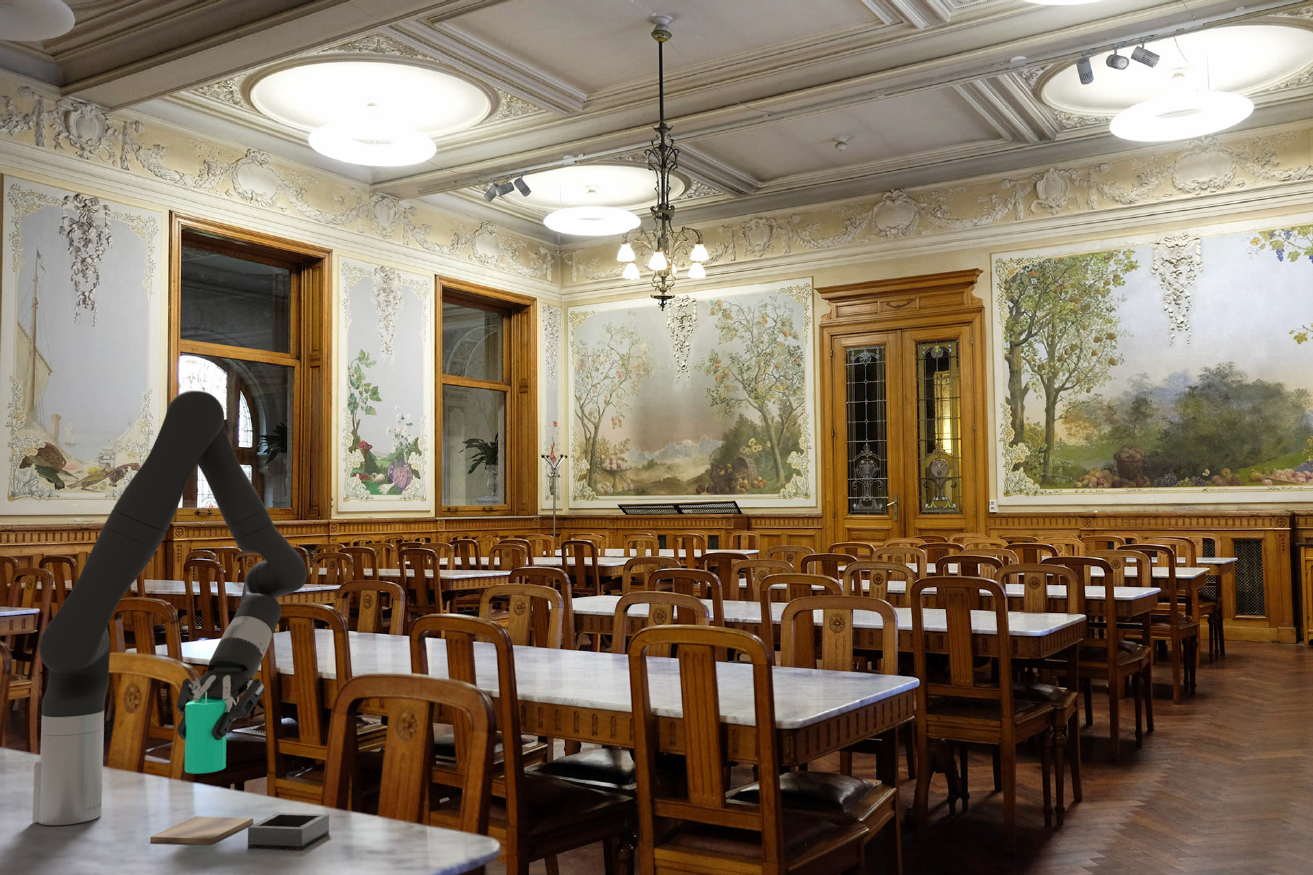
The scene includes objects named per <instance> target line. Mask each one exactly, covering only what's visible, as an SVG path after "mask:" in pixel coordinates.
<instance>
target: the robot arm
mask: <svg viewBox="0 0 1313 875" xmlns="http://www.w3.org/2000/svg"><path fill="white" fill-rule="evenodd" d="M224 422H225V411H224V408H223V406H222V404H221V402H220V400H218V399H217V398H216V397H215V395H213V394H211V393H209V392H207V391H205V390H201V389H200V390H199V389H192V390H187V391H184V392H181V393H178V395H176V396H175V397H174V398H173V399H172V400H171V402H170V403H169V405H168V407H167V408H166V413H165V417H164V419H163V422H162V424H161V427H160V430H159V431H158V434H157V437H156V439H155V441H154V443H153V446H152V448H151V450H150V452H149V454H148V456H147V458H146V459H145V460H144V463H142V465H141V467H140V468H139V469H138V470H137V472H136V473H135V474H134V476H133V477H132V479H131V480H130V481H129V483H128V485H127V486H126V487H125V489H124V490H123V491H122V493H121V495H120V496H119V497H118V500H117V501H116V503H115V505H114V506H113V509H111V511H110V514H109V516H107V520H106V521H105V523H104V524H103V527H102V529H101V530H100V533H99V535H98V537H97V538H96V541H95V542H94V544H93V546H92V549H91V551H90V553H89V555H88V557H87V559H86V561H85V564H84V566H83V568H82V570H81V573H80V575H79V577H78V578H77V580H76V583H75V584H74V587H73V588H72V589H71V591H70V593H69V594H68V596H67V597H66V599H65V600H64V602H63V603H62V605H61V606H60V607H59V610H58V611H57V612H56V614H54V616H53V618H52V619H51V620H50V622H49V623H48V624H47V626H46V628H45V629H44V630H43V632H42V634H41V637H40V640H39V642H38V643H39V646H38V647H39V648H38V651H39V656H40V659H41V662H42V663H43V664H44V665H45V667H46V668H47V669H48V678H47V679H48V680H47V686H46V691H45V693H44V695H43V698H42V701H41V725H40V726H41V728H40V729H41V730H40V731H41V732H40V753H39V754H40V758H39V759H40V760H38V761H36V762H35V763H34V765H33V768H34V769H33V791H32V793H33V796H32V820H31V822H32V823H38V824H40V825H44V826H62V825H63V826H65V825H66V826H67V825H75V824H79V823H85V822H89V821H92V820H95V819H98V818H99V817H101V816H102V808H103V807H102V806H103V805H102V801H103V799H102V798H103V774H104V773H103V770H104V739H105V738H104V735H105V734H104V732H105V726H104V725H105V706H106V704H105V703H106V697H107V692H108V689H109V679H110V678H109V676H110V674H109V673H110V660H111V659H110V657H111V639H110V634H109V630H108V625H109V622H110V621H111V618H112V617H113V615H114V612H115V610H116V608H117V607H118V604H119V603H120V601H121V599H123V596H125V594H126V592H127V591H128V590H129V588H130V587H132V585H133V584H134V582H135V581H136V580H137V579H138V577H139V576H141V575H140V574H142V572H143V571H144V570H145V568H146V567H147V565H148V564H149V563H150V561H151V560H152V558H153V557H154V555H155V554H156V552H157V550H158V548H159V546H160V545H161V543H162V541H163V539H164V537H165V536H166V533H167V531H168V530H169V528H170V525H171V524H172V521H173V519H174V517H175V515H176V512H177V510H178V507H179V504H180V502H181V499H182V496H183V493H184V491H185V489H186V486H187V484H188V482H189V478H190V477H191V475H192V473H193V471H194V468H196V465H198V467H199V470H201V472H202V474H203V476H204V478H205V480H206V482H207V484H208V486H209V488H210V489H209V490H211V494H212V495H213V498H214V501H215V502H216V505H217V507H218V510H219V512H220V515H221V516H222V518H223V520H224V522H225V524H226V526H227V528H228V531H229V533H230V534H231V535H232V537H233V539H234V543H236V545H237V547H238V549H239V550H240V551H241V552H243V553H248V554H249V553H257V554H259V555H260V556H261V558H263V559H264V560H263V561H260V562H258V563H256V564H255V565H253V567H251V568H250V570H248V573H247V574H246V576H245V578H244V583H243V586H242V588H243V589H242V591H241V592H242V593H241V600H240V605H239V607H238V608H237V610H236V613H235V615H234V616H233V618H232V621H231V622H230V624H229V625H228V626H227V628H226V629H225V631H224V632H223V634H222V636H221V638H220V640H219V642H218V644H217V646H216V648H215V650H214V652H213V654H212V656H211V658H210V659H209V662H208V666H207V670H206V673H205V674H204V675H203V676H202V677H200V679H197V680H191V679H190V678H188V677H186V678H185V679H183V680H182V683H181V687H180V690H179V695H178V698H177V701H176V705H175V706H176V709H177V710H178V711H179V713H180V714H181V716H182V718H181V720H180V723H179V724H178V726H177V728H176V729H177V730H176V731H177V734H178V736H179V737H180V738H181V740H183V741H185V739H186V723H185V709H186V704H187V703H189V702H192V701H197V703H199V702H201V701H202V700H203V699H206V692H207V699H212V700H223V702H226V704H225V707H224V710H223V711H224V713H222V715H221V716H220V718H219V719H218V720H217V722H216V724H215V726H214V728H213V730H212V736H213V737H214V739H215V740H221V739H222V737H224V736H225V735H226V736H227V734H228V731H229V729H230V728H231V725H232V723H233V721H235V720H236V719H237V718H241V719H245V718H247V717H248V716H249V714H250V713H251V712H252V710H253V709H254V707H255V706H256V705H257V703H258V702H259V700H260V699H261V697H262V696H263V694H264V693H265V692H266V688H265V686H264V684H263V682H262V681H261V679H260V678H255V676H256V674H257V673H258V670H259V669H260V666H261V664H262V661H263V660H264V657H265V655H266V653H267V650H268V648H269V646H270V642H271V638H272V636H273V634H274V632H275V630H276V627H277V625H278V624H279V621H280V620H281V619H280V618H281V616H282V606H281V604H280V603H279V601H278V600H277V598H280V597H282V596H285V595H288V594H291V593H294V592H296V591H299V590H301V589H302V588H303V587H304V586H305V584H306V582H307V577H308V572H307V567H306V564H305V562H304V560H303V558H302V556H301V554H300V553H298V551H297V550H296V549H295V548H294V547H293V545H292V544H290V542H289V541H288V540H287V538H285V537H284V535H282V534H281V532H280V531H279V530H278V529H277V528H276V525H275V524H274V522H273V520H272V518H271V516H270V514H269V512H268V511H267V508H266V506H265V505H264V503H263V501H262V499H261V496H260V495H259V494H258V492H257V490H256V489H255V486H254V485H253V484H252V482H251V480H250V479H249V477H248V476H247V474H246V473H245V471H244V469H243V467H242V466H241V463H240V462H239V460H238V458H237V456H236V453H235V452H234V449H233V447H232V445H231V442H230V439H229V435H228V433H227V430H226V427H225V423H224ZM254 678H255V679H254ZM240 696H241V697H240Z"/></svg>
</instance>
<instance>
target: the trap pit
mask: <svg viewBox="0 0 1313 875" xmlns="http://www.w3.org/2000/svg"><path fill="white" fill-rule="evenodd" d="M329 834H330V814H328V813H327V814H326V813H297V812H276V813H274V814H272V815H270V816H268V817H266V818H264V819H262V820H260V821H258V822H256V823H253V824H251V825H249V826H247V849H256V850H258V849H260V850H285V851H287V850H289V851H303V850H305V849H307V848H308V847H309V846H311V845H313V844H315V843H317V842H319V841H320V840H322V839H323V838H325V837H327V836H329Z"/></svg>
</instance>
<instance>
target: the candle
mask: <svg viewBox="0 0 1313 875" xmlns="http://www.w3.org/2000/svg"><path fill="white" fill-rule="evenodd" d="M225 704H226V702H223V700H212V699H207V692H206V699H205V698H204V699H203V700H202V701H201V702H199V703H197V701H192V702H189V703H187V704H186V709H185V723H186V739H185V740H184V772H185V773H188V774H208V773H214V772H218V771H223V770H224V769H226V767H227V763H226V762H227V734H226V735H225V736H224V737H222V739H221V740H215V739H214V737H213V736H212V730H213V728H214V726H215V724H216V722H217V720H218V719H219V718H220V716H221V715H222V713H224V711H223V710H224V707H225Z"/></svg>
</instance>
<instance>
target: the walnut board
mask: <svg viewBox="0 0 1313 875" xmlns="http://www.w3.org/2000/svg"><path fill="white" fill-rule="evenodd" d="M252 825H254V817H228V816H227V817H225V816H199V815H197V816H194V817H192V818H189V819H188V820H187V819H186V820H185V821H183V822H180V823H178V824H175V825H173V826H172V827H169V828H167V829H165V830H163V831H159V832H158V833H156V834H154V835H152V836H150V838H149V840H150V843H163V844H164V843H165V844H166V843H167V844H188V845H189V844H194V845H213V844H214V843H217V842H219V841H220V840H223V839H225V838H226V837H228V836H231V835H233V834H235V833H237V832H239V831H240V830H243V829H244V828H248V827H250V826H252Z"/></svg>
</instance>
